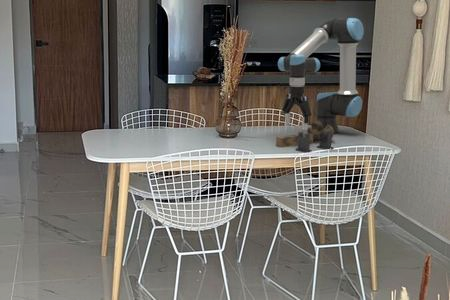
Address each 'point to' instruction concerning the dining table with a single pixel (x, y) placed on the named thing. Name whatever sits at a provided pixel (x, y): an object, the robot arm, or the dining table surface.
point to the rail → (290, 140)
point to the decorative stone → (316, 129)
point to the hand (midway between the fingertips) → (296, 127)
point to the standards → (305, 141)
